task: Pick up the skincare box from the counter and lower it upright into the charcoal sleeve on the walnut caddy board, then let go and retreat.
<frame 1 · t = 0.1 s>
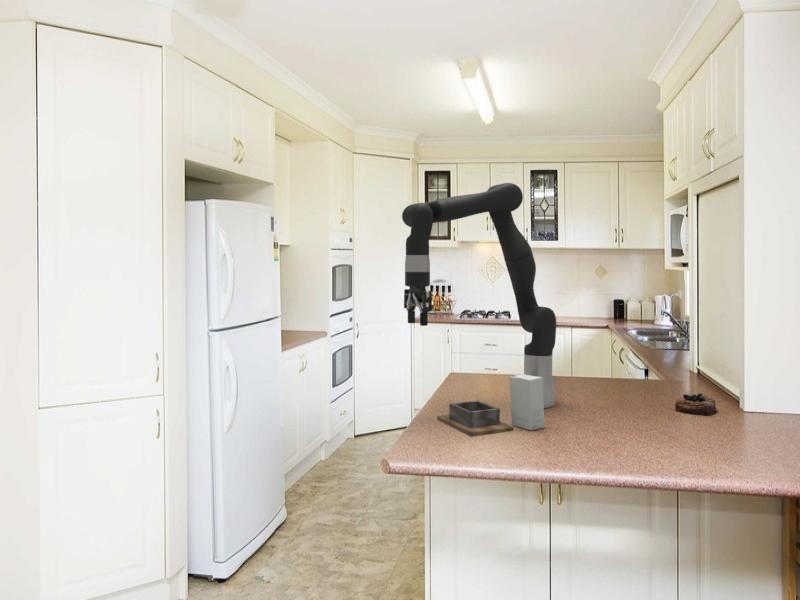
hand: (417, 324, 181), 29 cm above the countertop, fingers open, 8 cm apart
skincare box: (526, 427, 176), on the countertop
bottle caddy: (473, 424, 178), on the countertop
pastry: (695, 412, 194), on the countertop
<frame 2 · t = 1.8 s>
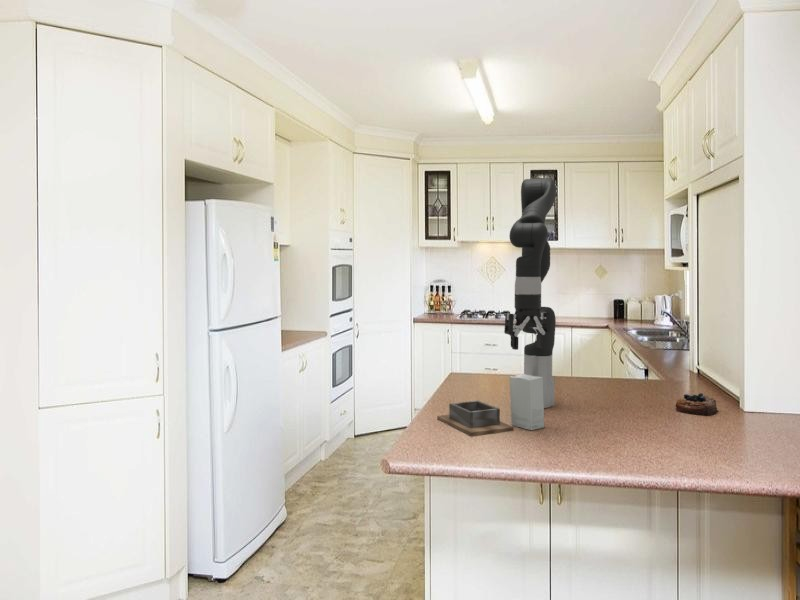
hand: (527, 348, 174), 23 cm above the countertop, fingers open, 8 cm apart
nothing on the countertop moved.
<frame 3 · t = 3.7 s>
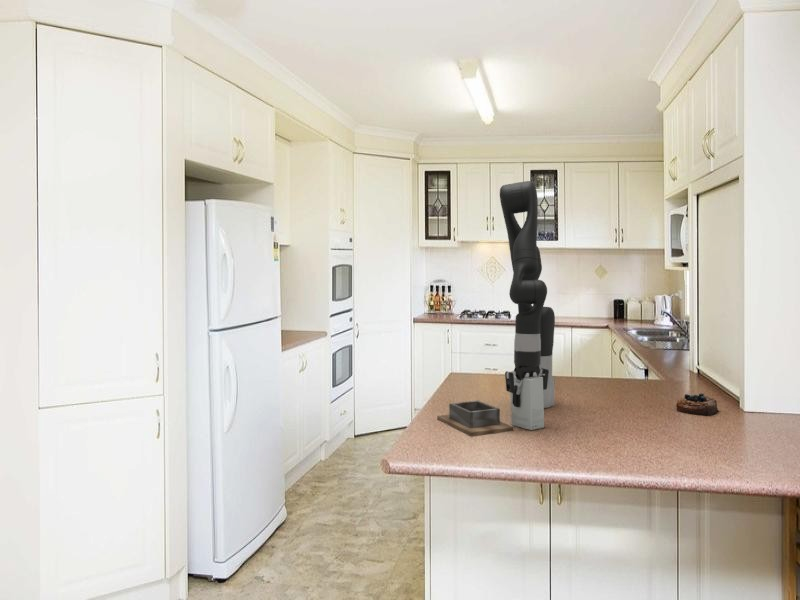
hand: (526, 405, 175), 6 cm above the countertop, fingers closed on skincare box, 6 cm apart
skincare box: (526, 427, 176), on the countertop, touching gripper
everything else where it was.
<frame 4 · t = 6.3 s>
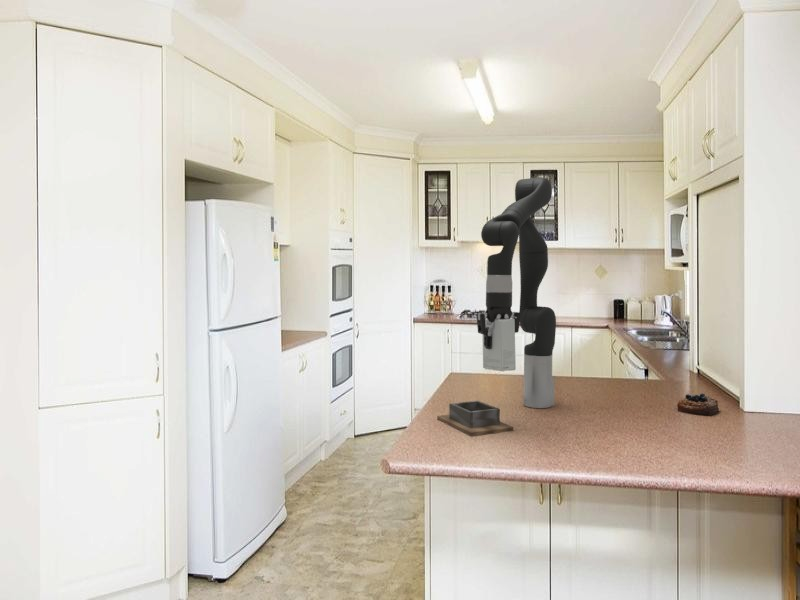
hand: (498, 347, 175), 23 cm above the countertop, fingers closed on skincare box, 6 cm apart
skincare box: (498, 369, 175), point 17 cm above the countertop, touching gripper
everything else where it was.
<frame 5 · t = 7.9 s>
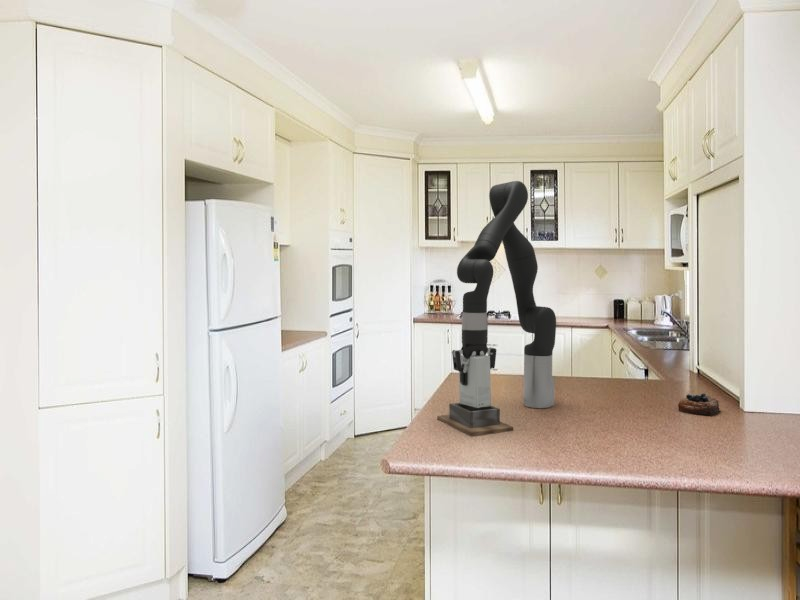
hand: (474, 383, 177), 12 cm above the countertop, fingers closed on skincare box, 6 cm apart
skincare box: (474, 405, 177), point 6 cm above the countertop, touching gripper
everything else where it was.
when the fingers open (9 cm above the countertop, at t = 9.1 s): skincare box drops 1 cm, resting on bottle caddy.
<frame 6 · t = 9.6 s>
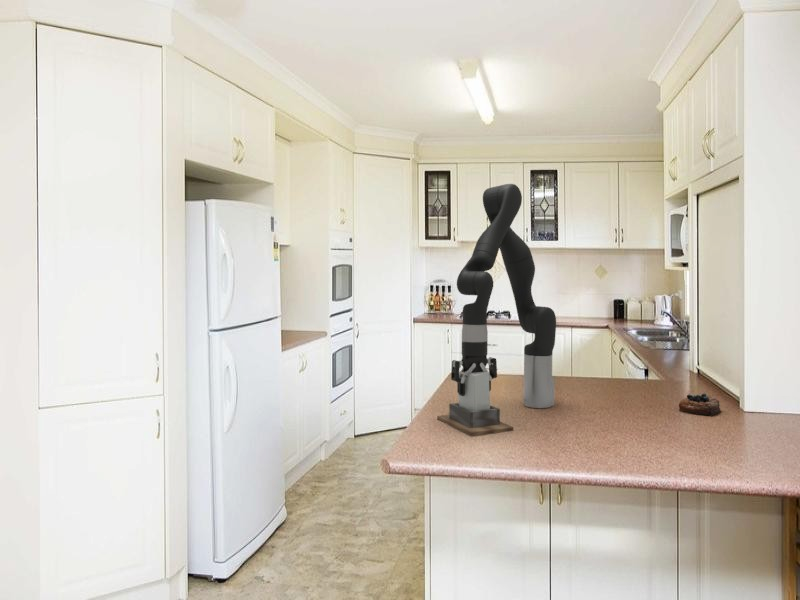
hand: (474, 394, 177), 9 cm above the countertop, fingers open, 8 cm apart
skincare box: (473, 422, 178), point 1 cm above the countertop, touching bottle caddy
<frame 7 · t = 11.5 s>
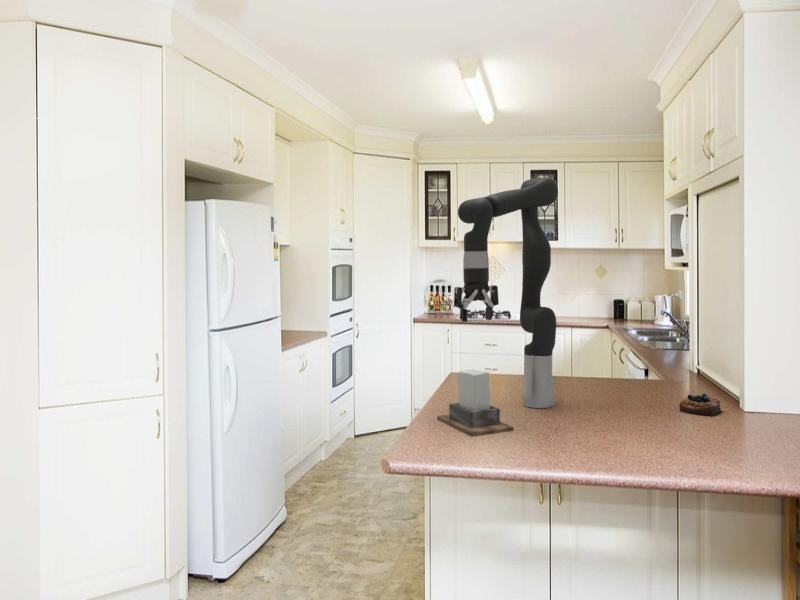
hand: (476, 320, 181), 30 cm above the countertop, fingers open, 8 cm apart
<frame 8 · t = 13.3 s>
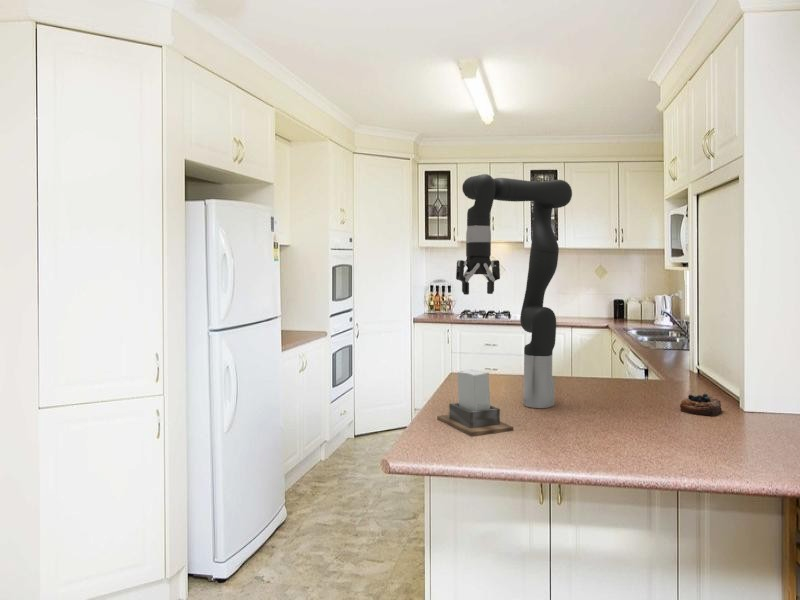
hand: (478, 294, 185), 38 cm above the countertop, fingers open, 8 cm apart
at the end: skincare box 0.1 cm off-centre on the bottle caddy, point 0.8 cm above the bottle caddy's base; skincare box tilted 0°; the gripper is holding nothing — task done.
